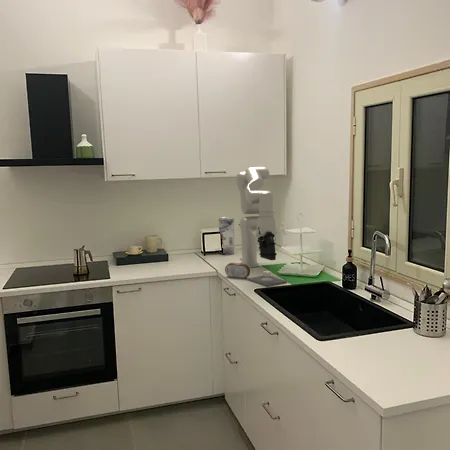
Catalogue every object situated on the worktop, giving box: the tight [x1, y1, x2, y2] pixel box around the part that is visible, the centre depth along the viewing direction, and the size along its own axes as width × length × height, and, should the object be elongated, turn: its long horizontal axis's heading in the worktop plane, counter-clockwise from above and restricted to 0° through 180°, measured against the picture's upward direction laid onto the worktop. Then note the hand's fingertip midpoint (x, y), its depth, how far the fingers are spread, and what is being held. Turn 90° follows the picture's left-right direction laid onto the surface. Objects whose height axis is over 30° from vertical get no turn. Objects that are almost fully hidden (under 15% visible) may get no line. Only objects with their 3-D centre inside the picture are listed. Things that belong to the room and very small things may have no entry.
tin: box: [224, 262, 251, 279], centre depth 274 cm, size 15×3×8 cm, turn 66°
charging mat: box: [246, 270, 288, 288], centre depth 265 cm, size 18×14×4 cm
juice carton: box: [218, 216, 235, 256], centre depth 342 cm, size 9×10×27 cm
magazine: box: [257, 232, 277, 261], centre depth 262 cm, size 4×13×15 cm, turn 30°
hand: (266, 247), depth 262 cm, fingers closed on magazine, 3 cm apart
